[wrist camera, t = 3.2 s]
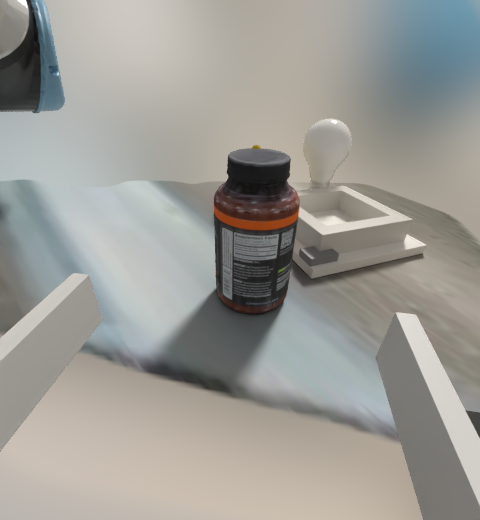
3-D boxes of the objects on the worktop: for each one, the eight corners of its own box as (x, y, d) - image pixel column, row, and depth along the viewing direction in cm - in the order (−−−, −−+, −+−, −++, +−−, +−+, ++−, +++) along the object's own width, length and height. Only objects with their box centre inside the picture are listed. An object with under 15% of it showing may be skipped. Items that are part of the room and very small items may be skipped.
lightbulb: (341, 209, 40) (361, 123, 34) (295, 205, 41) (307, 120, 35) (335, 193, 46) (352, 117, 40) (295, 190, 46) (305, 114, 40)
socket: (251, 217, 37) (252, 191, 35) (340, 205, 42) (345, 181, 40) (311, 278, 26) (318, 245, 24) (423, 253, 31) (436, 223, 29)
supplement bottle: (228, 267, 27) (229, 141, 21) (290, 278, 26) (310, 148, 20) (205, 308, 23) (197, 160, 16) (280, 325, 21) (303, 171, 15)
